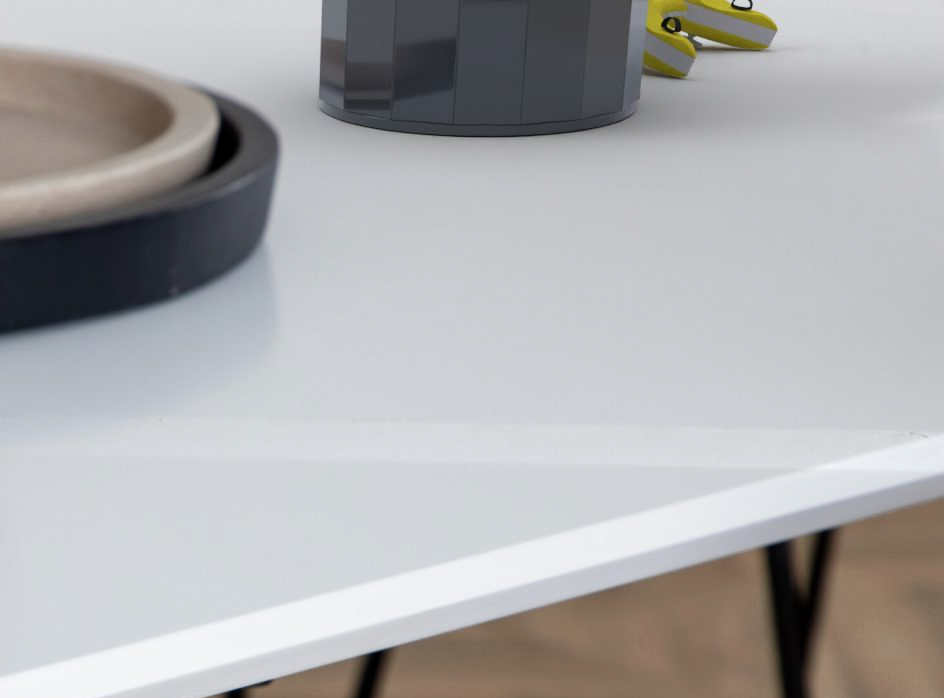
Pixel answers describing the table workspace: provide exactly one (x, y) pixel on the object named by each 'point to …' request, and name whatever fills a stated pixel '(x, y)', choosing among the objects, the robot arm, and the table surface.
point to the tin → (481, 64)
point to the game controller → (700, 31)
